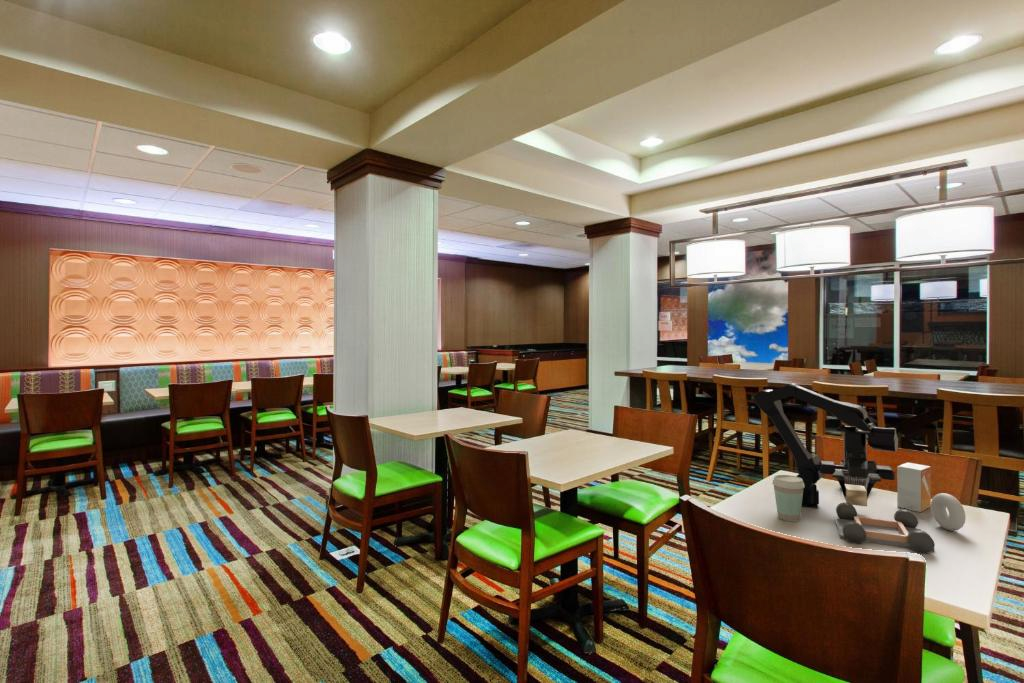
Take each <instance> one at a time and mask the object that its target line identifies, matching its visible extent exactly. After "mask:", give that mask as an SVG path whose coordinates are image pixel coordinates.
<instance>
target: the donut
mask: <svg viewBox="0 0 1024 683" xmlns="http://www.w3.org/2000/svg"><path fill="white" fill-rule="evenodd" d="M930 510H931V511H930V512H931V514H932V517H933V518H934V520H935V522H936V523H937V525H939V526H940V527H941V528H943V529H945V530H947V531H951V532H952V531H953V532H954V531H959V530H960V529H962V528H963V527H964V525H965V523H966V519H967V517H966V512H965V509H964V507H963V505H962V504H961V501H959V500H958V498H956V497H955V496H953V495H952V494H949V493H945V492H941V493H937V494H935V495H934V496H933V497H932V499H931V507H930ZM947 511H948V512H947Z"/></svg>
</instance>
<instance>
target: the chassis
mask: <svg viewBox="0 0 1024 683" xmlns="http://www.w3.org/2000/svg"><path fill="white" fill-rule="evenodd" d="M854 506H855V505H851V504H849V503H846V502H840V503H838V504H837V506H836V508H835V512H836V515H837V517H835V518H834V522H835V525H836V529H837V531H838V536H839V538H840V539H846V541H848V542H849V543H851V544H862V543H863V542H866V543H871V544H881V545H887V546H892V547H901V548H907V549H913V551H915V552H917V553H919V554H930V553H931V552H934V551H935V545H936V544H935V541H934V539H933V538H932V537H931V535H930V534H929V533H928V532H926V531H925V530H922V529H921V528H918V526H919V520H918V518H917V516H916V515H915V514H914V513H913V511H912V510H908V509H904V508H900V509H898V510H896V511H895V513H894V514H893V519H892V520H891V519H886V518H885V519H884V518H875V517H869V516H868V517H867V516H860V515H858V512H857V509H856V508H855V507H854Z"/></svg>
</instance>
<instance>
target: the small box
mask: <svg viewBox="0 0 1024 683" xmlns="http://www.w3.org/2000/svg"><path fill="white" fill-rule="evenodd" d="M896 468H897V469H896V470H897V471H896V472H897V473H896V475H897V477H896V478H897V480H896V484H897V485H896V486H897V489H896V490H897V498H896V499H897V500H896V502H897V504H896V505H897V506H896V507H897V508H900V507H901V508H900V509H904V508H905V509H906V510H908V509H909V511H912V512H918V513H922V512H924V511H926V510H928V509H930V508H931V501H932V499H931V496H932V493H931V490H932V489H931V487H932V486H931V484H932V478H931V477H932V476H931V475H932V471H931V470H932V469H931V468H932V466H929V465H926V464H919V463H915V462H914V463H913V462H905V463H902V464H900V465H898V466H896ZM929 507H930V508H929ZM927 508H928V509H927Z"/></svg>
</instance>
